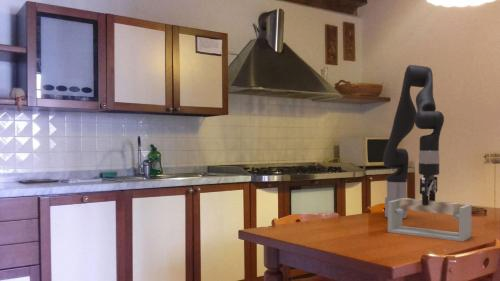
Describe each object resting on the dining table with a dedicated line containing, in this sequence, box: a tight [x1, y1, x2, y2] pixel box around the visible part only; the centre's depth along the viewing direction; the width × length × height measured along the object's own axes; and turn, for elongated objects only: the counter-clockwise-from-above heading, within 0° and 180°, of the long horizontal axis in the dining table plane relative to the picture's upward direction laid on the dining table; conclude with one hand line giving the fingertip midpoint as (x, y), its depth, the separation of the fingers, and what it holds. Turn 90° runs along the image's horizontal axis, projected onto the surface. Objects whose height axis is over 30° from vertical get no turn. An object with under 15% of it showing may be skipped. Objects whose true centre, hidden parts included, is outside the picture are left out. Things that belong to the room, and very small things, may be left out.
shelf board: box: [399, 197, 461, 216], centre depth 183 cm, size 22×5×4 cm, turn 42°
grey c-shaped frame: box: [387, 199, 472, 242], centre depth 182 cm, size 28×12×12 cm, turn 52°
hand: (428, 204), depth 182 cm, fingers open, 8 cm apart
